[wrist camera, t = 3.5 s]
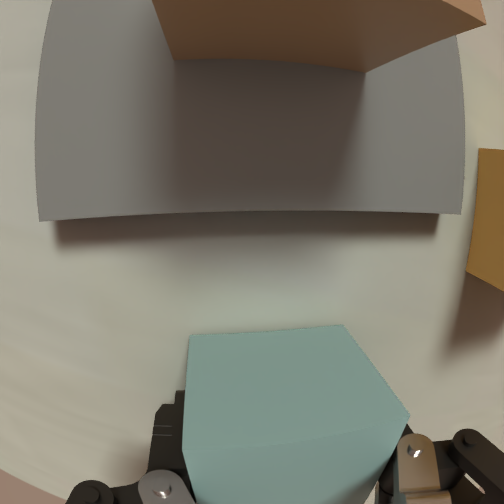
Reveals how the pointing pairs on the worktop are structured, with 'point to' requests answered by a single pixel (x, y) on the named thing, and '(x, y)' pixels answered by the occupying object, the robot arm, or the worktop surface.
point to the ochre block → (489, 220)
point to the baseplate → (251, 106)
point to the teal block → (286, 418)
